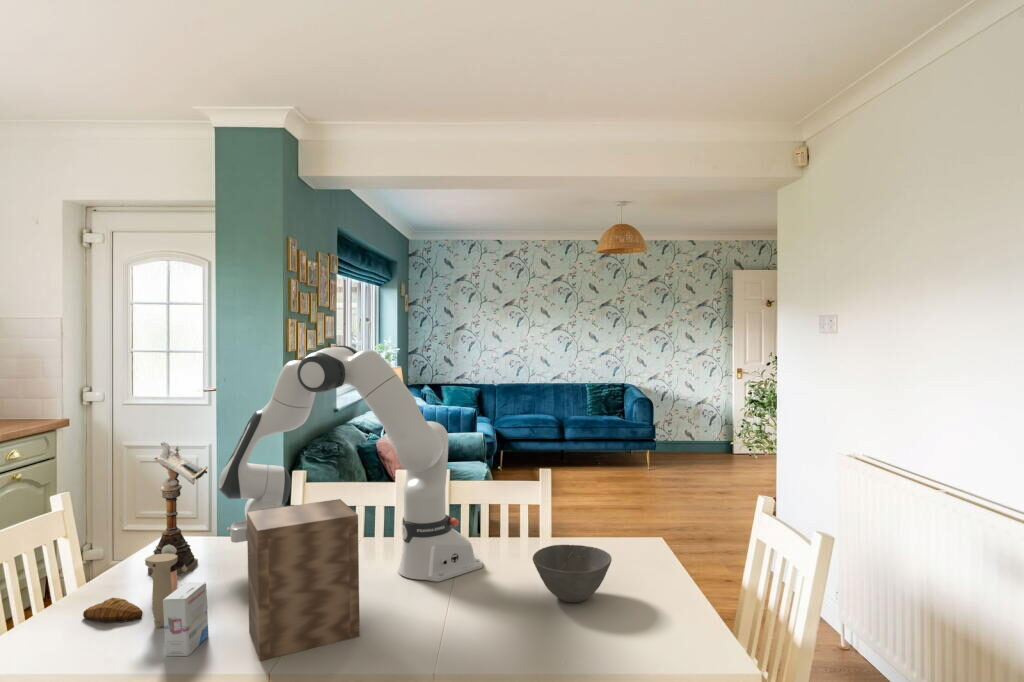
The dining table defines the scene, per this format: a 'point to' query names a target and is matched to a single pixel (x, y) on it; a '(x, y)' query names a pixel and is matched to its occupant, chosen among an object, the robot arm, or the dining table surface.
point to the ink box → (185, 619)
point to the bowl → (572, 570)
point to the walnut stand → (302, 577)
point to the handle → (160, 583)
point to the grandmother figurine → (172, 550)
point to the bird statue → (170, 493)
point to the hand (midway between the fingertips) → (276, 535)
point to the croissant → (113, 611)
